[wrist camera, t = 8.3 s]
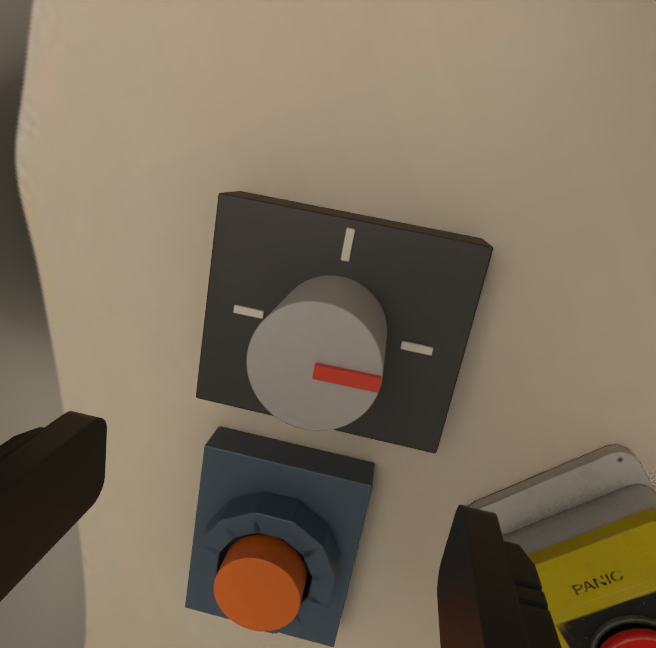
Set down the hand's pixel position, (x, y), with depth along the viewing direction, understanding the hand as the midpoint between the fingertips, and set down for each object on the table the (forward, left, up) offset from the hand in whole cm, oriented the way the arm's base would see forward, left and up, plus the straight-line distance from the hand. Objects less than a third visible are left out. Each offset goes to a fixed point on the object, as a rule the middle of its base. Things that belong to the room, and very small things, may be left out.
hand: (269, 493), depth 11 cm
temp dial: (0, 0, -12) cm, 12 cm away
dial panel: (0, 0, -16) cm, 16 cm away
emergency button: (+12, +17, -16) cm, 26 cm away
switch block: (+13, -1, -16) cm, 21 cm away
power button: (+14, -1, -12) cm, 18 cm away
